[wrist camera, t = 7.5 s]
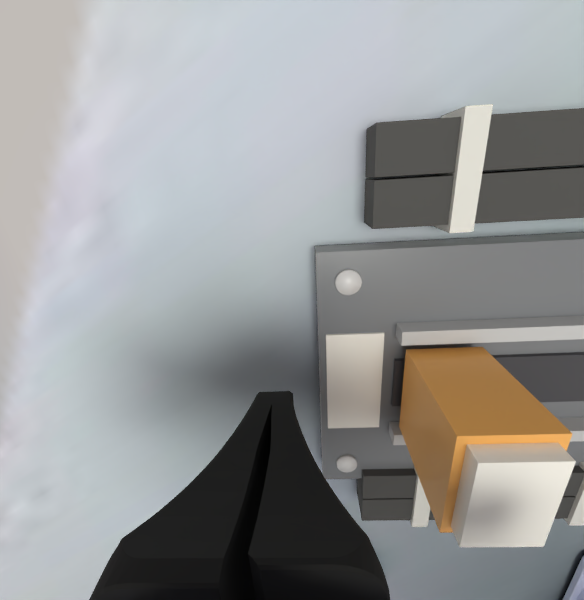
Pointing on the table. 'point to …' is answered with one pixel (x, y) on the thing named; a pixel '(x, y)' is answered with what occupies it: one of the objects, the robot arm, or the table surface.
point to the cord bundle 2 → (414, 505)
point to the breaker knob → (482, 448)
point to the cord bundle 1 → (475, 169)
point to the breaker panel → (443, 331)
